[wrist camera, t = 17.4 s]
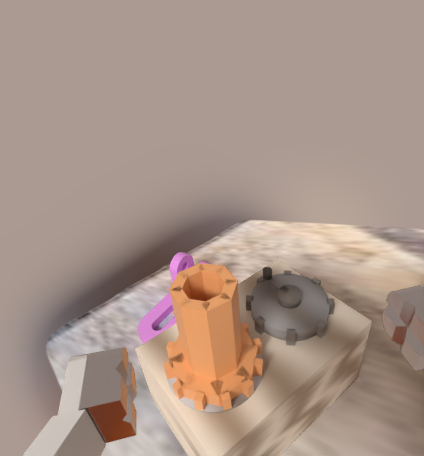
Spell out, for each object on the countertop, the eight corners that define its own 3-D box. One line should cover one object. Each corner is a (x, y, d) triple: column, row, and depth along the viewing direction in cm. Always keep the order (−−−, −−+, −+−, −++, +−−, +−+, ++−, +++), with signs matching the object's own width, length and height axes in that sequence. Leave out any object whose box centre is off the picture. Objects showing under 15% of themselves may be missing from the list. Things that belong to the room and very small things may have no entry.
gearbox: (276, 313, 49) (278, 234, 41) (357, 378, 40) (379, 292, 32) (153, 402, 40) (126, 322, 32) (223, 510, 31) (209, 437, 23)
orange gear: (270, 332, 35) (271, 254, 29) (253, 423, 28) (249, 344, 22) (185, 317, 37) (171, 243, 31) (150, 397, 30) (123, 321, 24)
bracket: (190, 280, 57) (184, 247, 53) (217, 293, 54) (214, 259, 50) (131, 336, 48) (119, 302, 45) (161, 355, 46) (150, 320, 42)
